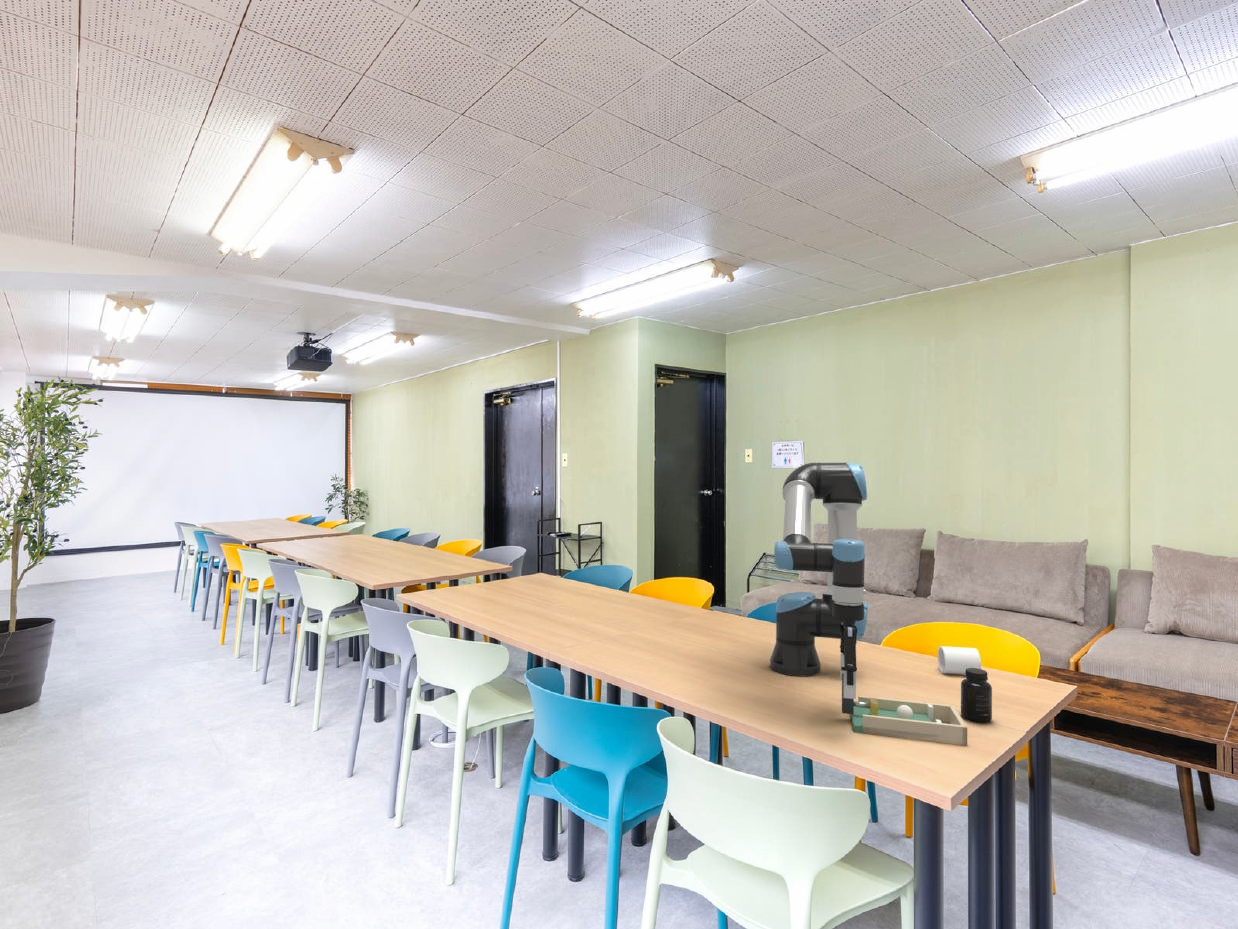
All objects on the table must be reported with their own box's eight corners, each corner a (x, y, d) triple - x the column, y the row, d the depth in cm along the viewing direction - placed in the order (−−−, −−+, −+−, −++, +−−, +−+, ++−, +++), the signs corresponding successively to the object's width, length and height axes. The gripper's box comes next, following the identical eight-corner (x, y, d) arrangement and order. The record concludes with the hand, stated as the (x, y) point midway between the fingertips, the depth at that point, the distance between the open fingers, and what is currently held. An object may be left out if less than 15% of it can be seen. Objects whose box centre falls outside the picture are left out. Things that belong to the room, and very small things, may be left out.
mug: (981, 679, 187) (981, 652, 187) (945, 676, 189) (945, 650, 189) (967, 667, 199) (967, 641, 199) (933, 664, 201) (933, 639, 201)
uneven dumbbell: (842, 714, 154) (842, 677, 154) (841, 708, 157) (841, 672, 157) (878, 718, 151) (878, 681, 151) (876, 712, 155) (876, 675, 155)
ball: (897, 722, 150) (897, 707, 150) (895, 716, 154) (895, 702, 154) (914, 724, 149) (914, 709, 149) (911, 718, 153) (911, 703, 153)
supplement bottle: (954, 713, 160) (954, 666, 160) (980, 713, 161) (980, 666, 161) (972, 724, 153) (972, 675, 153) (998, 723, 154) (998, 674, 154)
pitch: (854, 732, 148) (854, 715, 148) (849, 710, 161) (849, 694, 162) (967, 745, 141) (967, 727, 141) (953, 721, 155) (953, 705, 155)
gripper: (869, 613, 142) (869, 708, 142) (860, 594, 166) (859, 675, 166) (834, 611, 144) (834, 704, 144) (830, 593, 168) (829, 672, 168)
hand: (847, 689), depth 155 cm, fingers open, 13 cm apart
